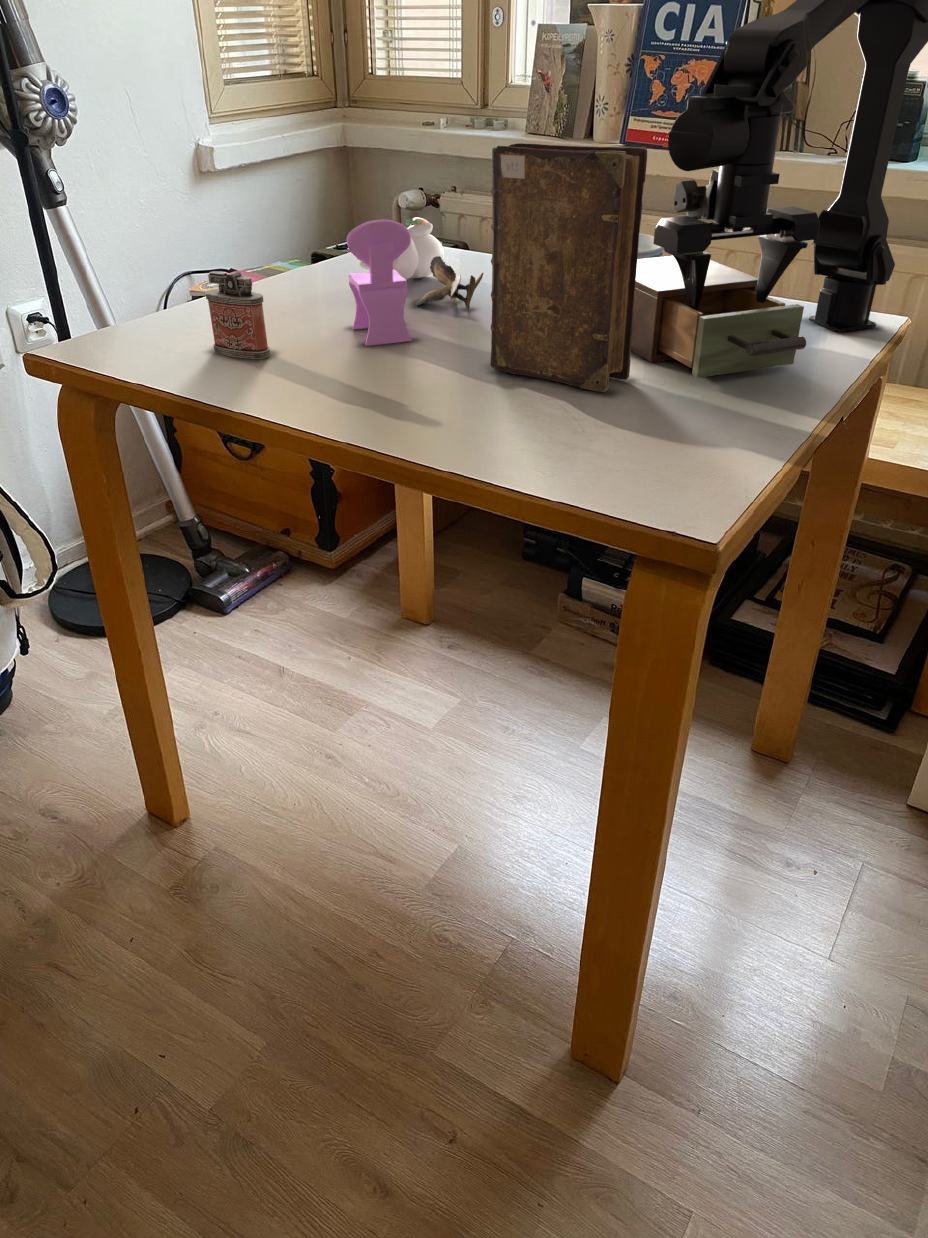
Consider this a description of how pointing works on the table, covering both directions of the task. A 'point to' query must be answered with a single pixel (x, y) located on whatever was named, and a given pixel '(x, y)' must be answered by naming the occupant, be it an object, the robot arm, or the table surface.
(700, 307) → the drawer
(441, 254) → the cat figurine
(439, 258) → the eagle figurine
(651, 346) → the cabinet
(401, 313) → the toy chair
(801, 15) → the robot arm
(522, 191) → the book
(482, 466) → the table surface
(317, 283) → the table surface
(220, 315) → the lighter
